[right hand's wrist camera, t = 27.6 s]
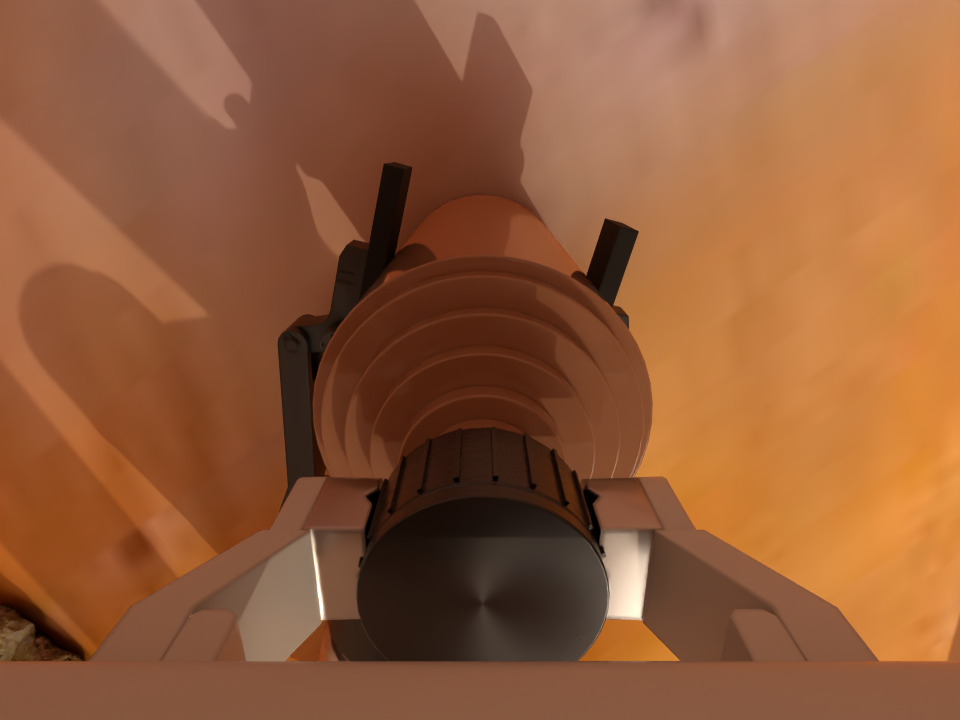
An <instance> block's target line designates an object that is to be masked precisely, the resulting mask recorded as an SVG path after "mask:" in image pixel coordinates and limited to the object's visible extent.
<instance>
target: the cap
mask: <svg viewBox="0 0 960 720" xmlns="http://www.w3.org/2000/svg"><path fill="white" fill-rule="evenodd" d="M591 516H592V510H591V509H589V508H588V507H587V504H586V501H585V497H584V494H583V491H582V487H581V484H580V480H579V477H578V474H577V472H576V470H574V471H572V470H571V468H570V467H569V466H568V465H567V464H566V463H565V461H564V460H563V459H562V458H561V457H560V456H559V455H558V453H557V450H555V449H554V448H553V449H552V450H551V449H550V448H548V447H546V446H545V445H543V444H542V443H540V442H538V441H536V440H535V439H533V438H531V437H529V435H528V434H526V433H525V434H524V435H522V434H519V433H516V432H513V431H508V430H504V429H497V428H496V427H494V426H491V427H486V428H469V429H462V428H458V429H457V430H454V431H452V432H451V431H450V432H448V433H445V434H443V435H440V436H438V437H435V438H433V439H430V438H428V439H426V441H425V443H424V444H422V445H420V446H418V447H417V448H415V449H414V450H413V451H412V452H410V453H409V454H408V455H407V456H406V457H405V456H404V455H403V456H402V457H401V458H400V461H399V464H398V465H397V466H396V468H395V469H394V470H393V472H392V473H391V475H390V477H389V478H388V480H387V479H384V481H383V483H382V487H381V490H380V493H379V497H378V500H377V504H376V507H375V510H374V514H373V517H372V521H371V524H370V527H369V531H368V534H367V538H368V539H369V540H368V544H367V547H366V550H365V554H364V558H363V560H359V563H358V567H359V568H360V571H359V576H358V580H357V588H356V600H357V608H358V613H359V616H360V619H361V623H362V625H363V628H364V630H365V632H366V634H367V636H368V637H369V639H370V640H371V642H372V643H373V645H374V646H375V648H376V649H377V650H378V651H379V652H380V653H381V654H382V655H383V657H384V658H386V659H387V660H388V661H578V660H579V659H580V658H581V657H582V656H583V655H584V654H585V653H586V652H587V651H588V650H589V648H590V647H591V646H592V645H593V644H594V642H595V640H596V639H597V637H598V635H599V634H600V632H601V630H602V627H603V625H604V622H605V620H606V616H607V612H608V608H609V598H610V590H609V580H608V576H607V572H606V569H605V565H604V562H603V557H606V554H605V551H604V549H601V550H600V548H599V545H598V541H597V538H596V535H595V531H594V528H593V524H592V521H591Z"/></svg>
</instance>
